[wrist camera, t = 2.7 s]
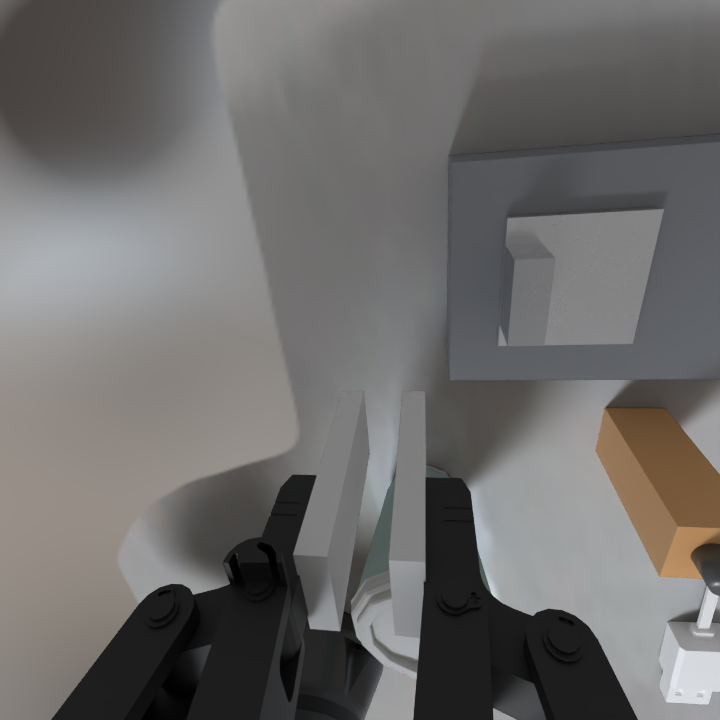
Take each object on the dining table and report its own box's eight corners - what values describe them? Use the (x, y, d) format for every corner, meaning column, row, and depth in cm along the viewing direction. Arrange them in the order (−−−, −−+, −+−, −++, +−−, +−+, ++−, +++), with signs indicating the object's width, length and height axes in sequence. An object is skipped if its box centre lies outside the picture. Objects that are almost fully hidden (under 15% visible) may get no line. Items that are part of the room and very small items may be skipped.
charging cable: (767, 459, 38) (796, 486, 35) (699, 680, 51) (716, 713, 49) (701, 460, 39) (724, 487, 36) (652, 678, 52) (665, 710, 49)
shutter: (496, 341, 29) (505, 369, 26) (505, 216, 25) (517, 230, 22) (628, 339, 28) (654, 367, 25) (658, 207, 24) (693, 220, 21)
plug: (595, 450, 38) (675, 607, 26) (604, 407, 36) (696, 556, 24) (652, 451, 38) (761, 613, 25) (665, 408, 35) (790, 561, 23)
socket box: (446, 347, 35) (449, 380, 31) (448, 155, 29) (452, 162, 24) (756, 343, 32) (808, 378, 28) (839, 124, 25) (925, 125, 21)
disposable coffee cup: (363, 515, 46) (338, 674, 33) (376, 433, 40) (354, 585, 27) (466, 533, 45) (483, 703, 32) (493, 453, 40) (527, 618, 27)
